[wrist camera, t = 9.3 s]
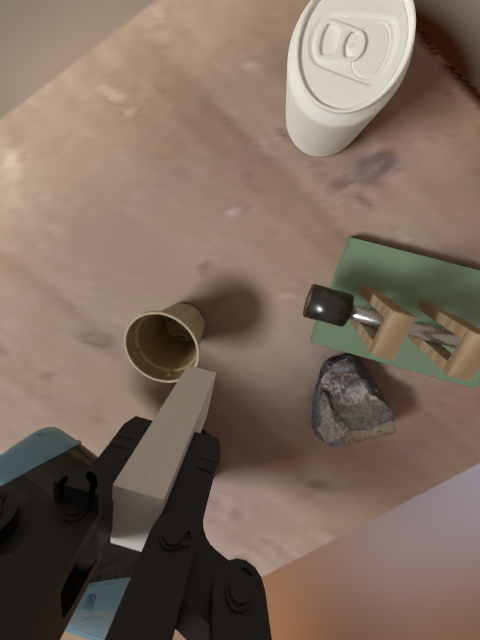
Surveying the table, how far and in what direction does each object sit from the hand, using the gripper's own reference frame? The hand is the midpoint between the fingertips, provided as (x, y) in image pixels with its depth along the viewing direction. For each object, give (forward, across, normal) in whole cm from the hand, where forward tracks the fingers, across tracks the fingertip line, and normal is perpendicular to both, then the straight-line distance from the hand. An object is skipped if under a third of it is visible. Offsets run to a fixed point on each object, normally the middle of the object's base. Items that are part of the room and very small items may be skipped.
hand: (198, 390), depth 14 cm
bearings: (+22, +18, +2) cm, 28 cm away
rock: (+24, +18, -14) cm, 33 cm away
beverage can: (+23, +4, +20) cm, 31 cm away
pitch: (+23, +21, +2) cm, 32 cm away
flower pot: (+24, -8, -8) cm, 26 cm away
